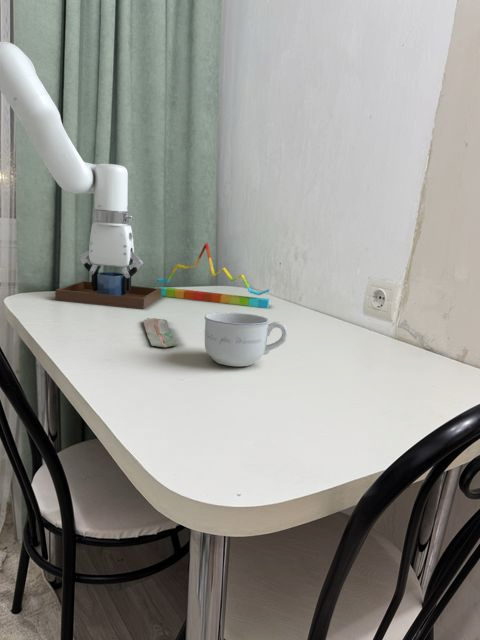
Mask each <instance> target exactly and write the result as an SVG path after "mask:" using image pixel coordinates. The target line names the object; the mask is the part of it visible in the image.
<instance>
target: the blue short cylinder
mask: <svg viewBox="0 0 480 640" xmlns="http://www.w3.org/2000/svg"><path fill="white" fill-rule="evenodd" d="M123 278H124V273H123V272H117V271H116V272H115V271H102V272H99V273H97V294H107V295H117V296H124V295H125V294H123Z"/></svg>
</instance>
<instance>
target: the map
mask: <svg viewBox="0 0 480 640" xmlns="http://www.w3.org/2000/svg"><path fill="white" fill-rule="evenodd" d="M143 325H144V329H145V332H146V335H147V338H148V341H149V342H150V346H153V347H160V348H169V347H176V346H179V343H178V342H177V340H176V339H175V337H174V335H173V333H172V331H171V329H170V327H169V322H168V319H165V318H156V317H151V318H150V317H149V318H148V317H147V318H146V319H143Z"/></svg>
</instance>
